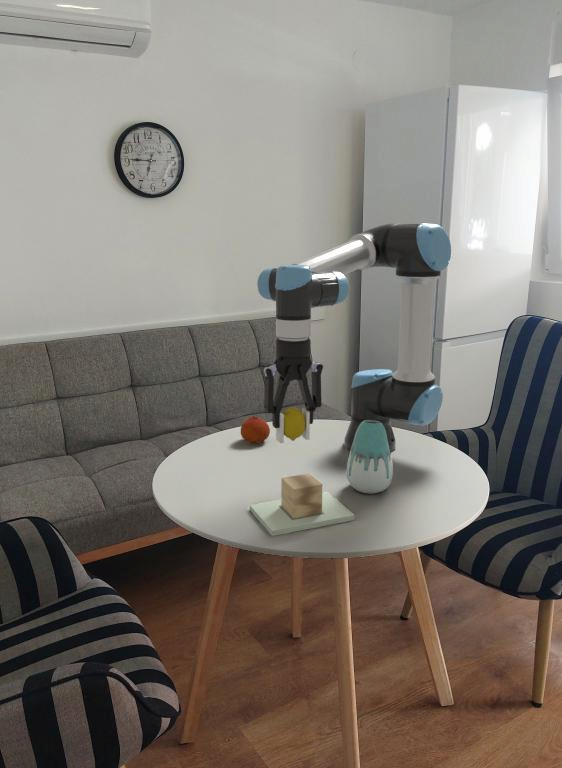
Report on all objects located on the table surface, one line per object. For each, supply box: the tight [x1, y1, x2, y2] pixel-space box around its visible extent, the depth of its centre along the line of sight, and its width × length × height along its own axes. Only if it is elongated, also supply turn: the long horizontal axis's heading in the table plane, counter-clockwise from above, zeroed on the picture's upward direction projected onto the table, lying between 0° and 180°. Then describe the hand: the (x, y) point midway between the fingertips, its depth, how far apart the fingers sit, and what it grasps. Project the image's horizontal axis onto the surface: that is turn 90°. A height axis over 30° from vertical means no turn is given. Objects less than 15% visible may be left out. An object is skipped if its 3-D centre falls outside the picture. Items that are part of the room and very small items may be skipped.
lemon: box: [282, 406, 305, 442], centre depth 144 cm, size 6×6×8 cm
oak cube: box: [280, 473, 323, 518], centre depth 147 cm, size 7×7×7 cm
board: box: [249, 491, 355, 537], centre depth 148 cm, size 20×14×1 cm
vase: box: [346, 420, 394, 494], centre depth 160 cm, size 12×12×18 cm
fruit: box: [240, 415, 271, 444], centre depth 196 cm, size 9×9×8 cm
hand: (292, 439), depth 145 cm, fingers closed on lemon, 5 cm apart
